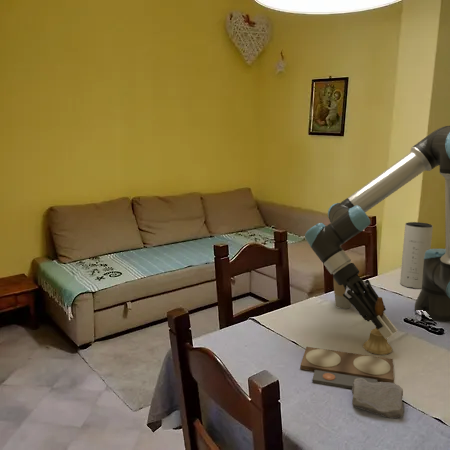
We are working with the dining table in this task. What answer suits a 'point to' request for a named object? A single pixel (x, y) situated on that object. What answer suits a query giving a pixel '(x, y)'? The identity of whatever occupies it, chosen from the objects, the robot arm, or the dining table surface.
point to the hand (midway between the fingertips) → (391, 334)
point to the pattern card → (337, 379)
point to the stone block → (378, 398)
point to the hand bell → (377, 335)
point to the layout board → (348, 364)
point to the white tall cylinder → (415, 253)
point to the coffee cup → (340, 296)
